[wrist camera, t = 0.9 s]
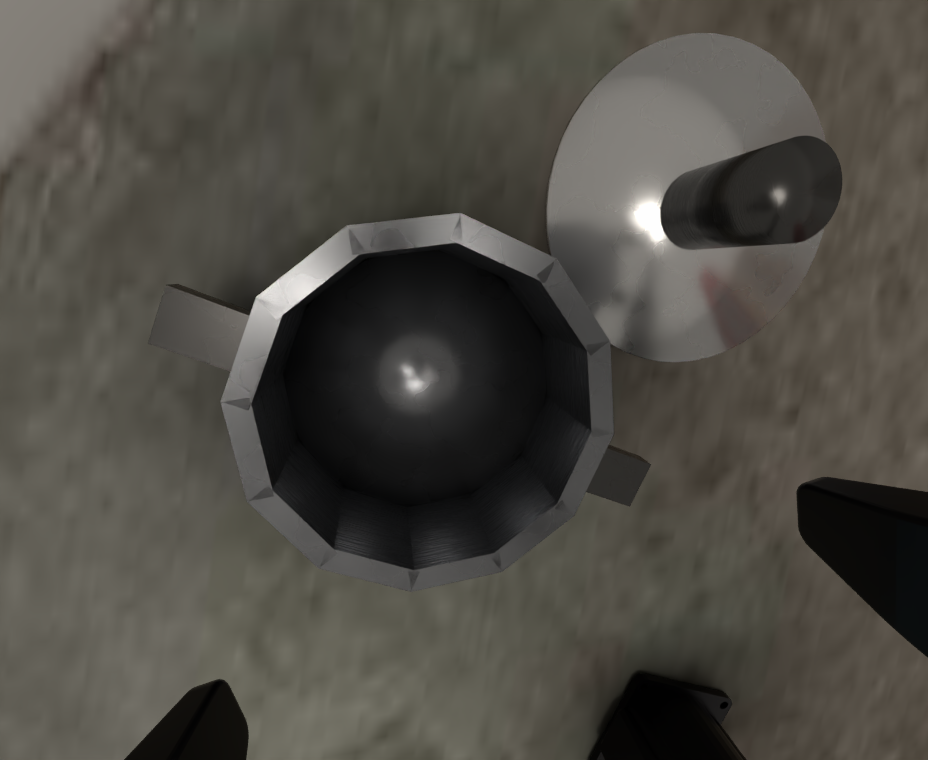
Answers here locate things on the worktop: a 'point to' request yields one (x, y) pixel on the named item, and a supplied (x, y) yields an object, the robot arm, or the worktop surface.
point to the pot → (413, 399)
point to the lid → (691, 196)
